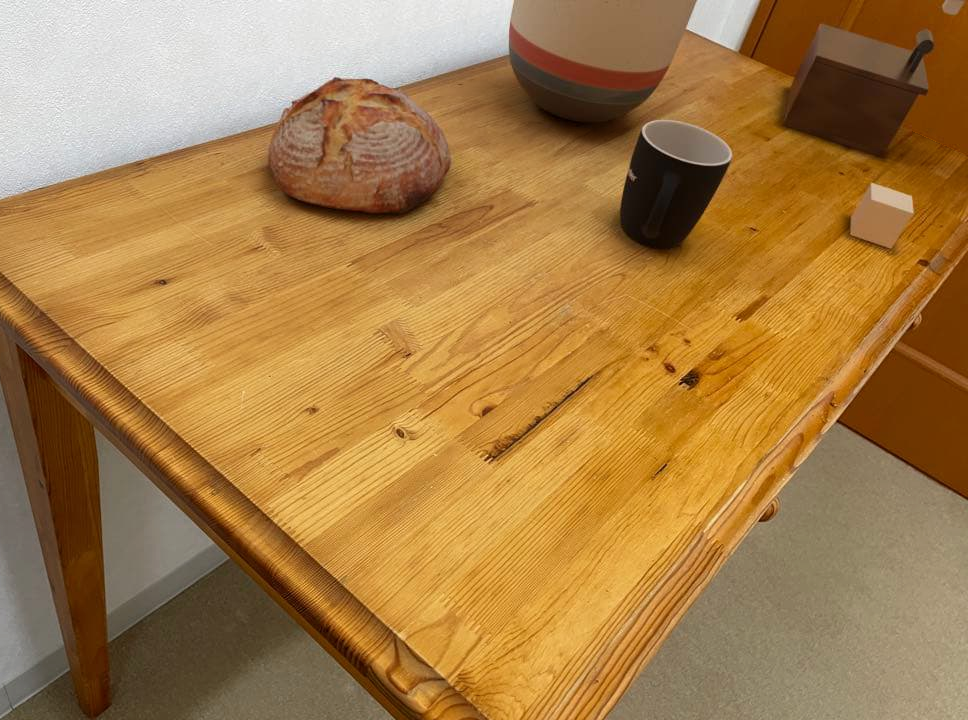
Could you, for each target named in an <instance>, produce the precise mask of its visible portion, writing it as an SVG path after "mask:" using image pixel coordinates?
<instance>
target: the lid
mask: <svg viewBox="0 0 968 720" xmlns="http://www.w3.org/2000/svg"><path fill="white" fill-rule="evenodd" d="M817 30H818V34H817V42H816V50H815V57H814V61H815V62H818V63H822V64H825V65H828V66H831V67H834V68H838V69H841V70H844V71H847V72H851V73H854V74H857V75H860V76H863V77H867V78H870V79H873V80H876V81H879V82H883V83H886V84H889V85H892V86H895V87H899V88H902V89H905V90H908V91H911V92H915V93H918V94H919V95H922V96H924V97H926V96H927V94H928V93H929V92H930V89H929V82H928V77H927V71H926V65H925V61H924V56H925V55H928V54H930V53H931V52H932V51H933V50H934V48H935V43H934V38H933V34H932V31H931V30H930V29H926V28H924V29H921V30H920V31H918V32H917V33H916V35H915V41H916V45H915V46H914V47H913V50H910V49H908V48H907V49H906V48H903V47H900V46H897V45H894V44H892V43H891V44H890V43H887V42H885V41H884V42H883V41H881V40H877V39H874V38H870V37H867V36H864V35H861V34H858V33H855V32H851V31H847V30H844V29H841V28H837V27H835V26H832V25H828V24H824V23H820V24H819V25H818V28H817Z"/></svg>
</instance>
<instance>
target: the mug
mask: <svg viewBox="0 0 968 720" xmlns="http://www.w3.org/2000/svg"><path fill="white" fill-rule="evenodd" d="M732 160H733V151H732V149H731V148H730V146H729V145H728V144H727V142H725V141H724V140H723V139H722V138H721V137H719V136H717V135H716V134H714V133H713V132H711V131H709V130H706V129H704V128H702V127H700V126H697V125H694V124H690V123H687V122H683V121H679V120H672V119H657V120H656V119H655V120H651V121H649V122H647V123H645V124H644V125H643V126H642V128H641V130H640V132H639V134H638V137H637V140H636V143H635V146H634V149H633V152H632V156H631V159H630V163H629V166H628V170H627V173H626V177H625V181H624V185H623V190H622V195H621V201H620V207H619V223H620V227H621V229H622V230H623V232H624V234H625V235H627V236H628V237H629V238H630V239H631V240H633V241H635V242H637V243H638V244H641V245H643V246H646V247H648V248H653V249H658V250H659V249H661V250H662V249H663V250H665V249H666V250H667V249H673V248H675V247H677V246H678V245H680V244H681V243H682V242H683V241H685V239H686V238H687V237H688V236H689V235H690V234H691V232H692V231H693V230H694V228H695V226H696V225H697V224H698V222H699V221H700V220H701V218H702V216H703V215H704V213H705V212H706V210H707V208H708V206H709V205H710V203H711V201H712V200H713V198H714V196H715V194H716V192H717V191H718V190H719V189H718V188H719V187H720V185H721V183H722V182H723V179H724V177H725V175H726V173H727V171H728V169H729V166H730V164H731V162H732Z"/></svg>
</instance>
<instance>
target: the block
mask: <svg viewBox="0 0 968 720" xmlns="http://www.w3.org/2000/svg"><path fill="white" fill-rule="evenodd" d="M914 211H915V210H914V203H913V196H912V195H910V194H906V193H904V192H901V191H899V190H895V189H893V188H889V187H886V186H883V185H880V184H877V183H873V182H870V184H869V186H868V187H867V189H866V190H865V192H864V194H863V196H862V197H861V199H860V201H859V203H858V204H857V206H856V207H855V209H854V211H853V213H852V215H851V216H850V231H849V233H850V236H853V237H855V238H858V239H861V240H864V241H867V242H870V243H872V244H876V245H878V246H882V247H884V248H887V249H892V248H893V247H894V245H895V244H896V242H897V240H898V239H899V237H900V236H901V235H902V233H903V231H904V229H905V228H906V226H907V225H908V223H909V222H910V221H911V219H912V217H913V216H914V214H915V212H914Z"/></svg>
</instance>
